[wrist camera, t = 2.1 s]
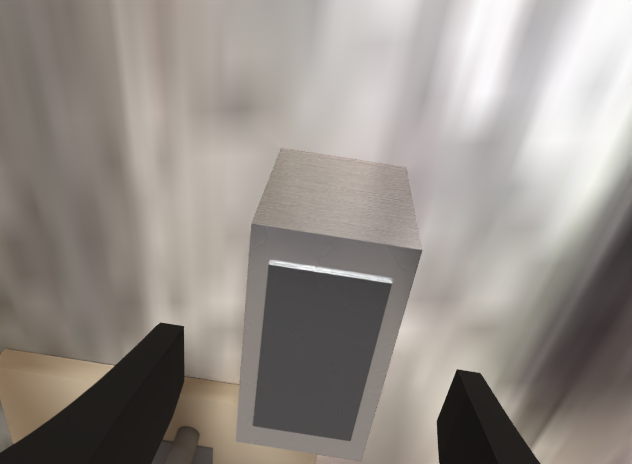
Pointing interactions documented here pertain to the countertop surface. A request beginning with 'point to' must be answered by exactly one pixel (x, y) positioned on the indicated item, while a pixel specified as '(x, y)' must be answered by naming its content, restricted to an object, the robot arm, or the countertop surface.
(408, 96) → the countertop surface
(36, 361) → the beige peg board
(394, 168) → the grey box
